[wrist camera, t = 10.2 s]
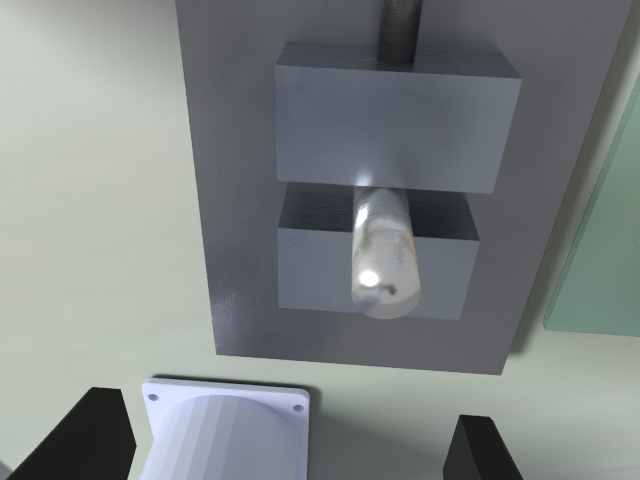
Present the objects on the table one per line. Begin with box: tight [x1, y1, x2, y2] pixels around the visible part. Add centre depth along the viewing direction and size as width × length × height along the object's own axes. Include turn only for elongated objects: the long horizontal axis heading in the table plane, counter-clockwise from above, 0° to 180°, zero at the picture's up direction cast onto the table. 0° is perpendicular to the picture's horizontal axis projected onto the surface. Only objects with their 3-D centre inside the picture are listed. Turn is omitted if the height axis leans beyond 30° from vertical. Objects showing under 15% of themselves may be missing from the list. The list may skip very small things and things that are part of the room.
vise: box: [175, 0, 633, 375], centre depth 15 cm, size 18×12×7 cm, turn 178°
